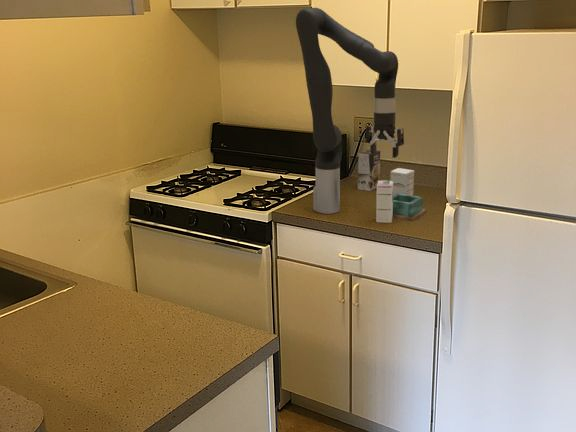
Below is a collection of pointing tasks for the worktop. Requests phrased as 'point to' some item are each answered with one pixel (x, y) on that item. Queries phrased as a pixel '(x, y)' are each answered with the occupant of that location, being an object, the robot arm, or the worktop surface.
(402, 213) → the socket collar
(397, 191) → the supplement box
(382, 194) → the syrup box
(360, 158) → the coffee box
